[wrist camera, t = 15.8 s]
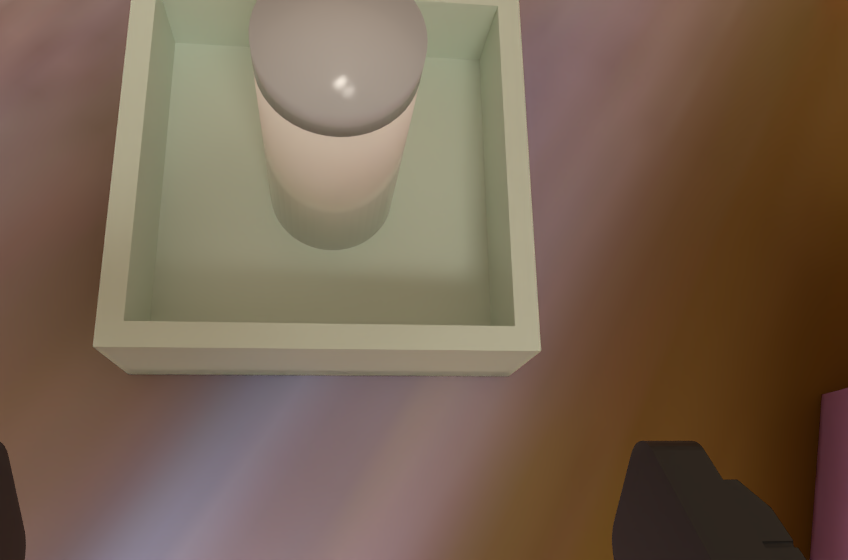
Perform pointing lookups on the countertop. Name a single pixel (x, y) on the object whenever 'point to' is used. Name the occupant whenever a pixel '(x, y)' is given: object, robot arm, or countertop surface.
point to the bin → (295, 261)
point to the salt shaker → (335, 110)
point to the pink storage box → (831, 480)
